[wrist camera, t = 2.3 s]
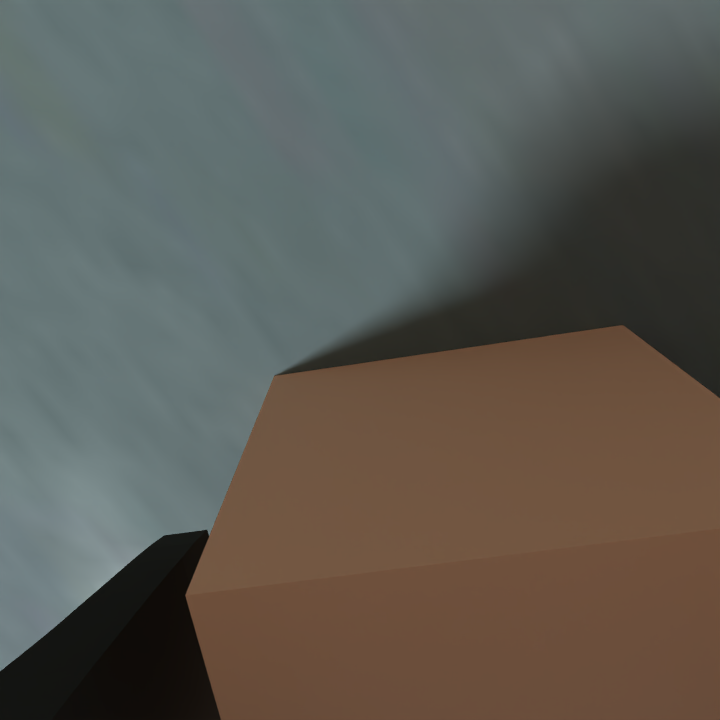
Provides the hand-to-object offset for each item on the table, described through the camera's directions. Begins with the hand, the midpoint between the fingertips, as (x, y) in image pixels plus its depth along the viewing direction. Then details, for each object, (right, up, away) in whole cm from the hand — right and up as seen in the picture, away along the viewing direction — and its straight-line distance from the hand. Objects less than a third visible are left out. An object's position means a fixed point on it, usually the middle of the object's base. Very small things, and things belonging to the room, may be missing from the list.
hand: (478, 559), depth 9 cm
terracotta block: (0, 0, +1) cm, 2 cm away
